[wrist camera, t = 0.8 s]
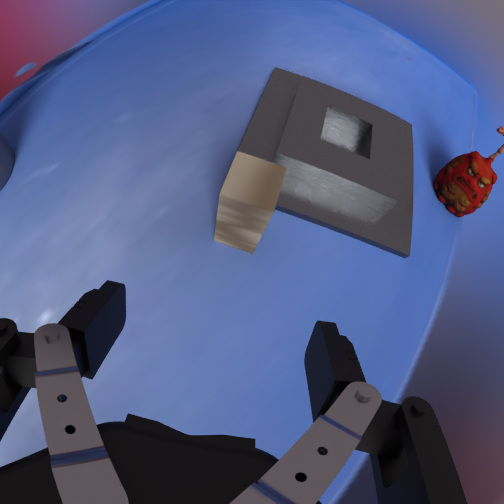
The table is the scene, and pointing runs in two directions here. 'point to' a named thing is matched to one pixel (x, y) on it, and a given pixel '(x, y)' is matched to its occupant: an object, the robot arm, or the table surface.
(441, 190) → the red clay folk toy
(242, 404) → the table surface
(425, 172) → the table surface
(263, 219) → the maple block
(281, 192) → the socket plate
